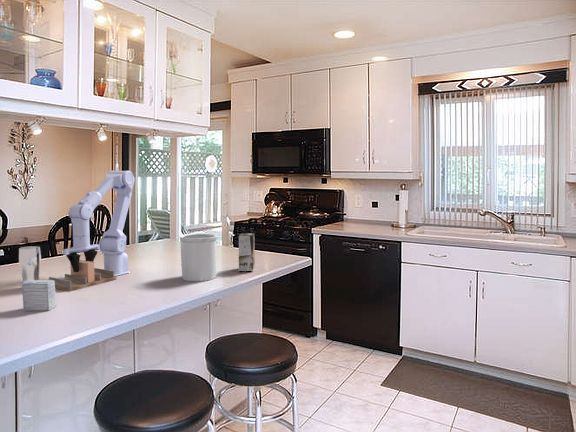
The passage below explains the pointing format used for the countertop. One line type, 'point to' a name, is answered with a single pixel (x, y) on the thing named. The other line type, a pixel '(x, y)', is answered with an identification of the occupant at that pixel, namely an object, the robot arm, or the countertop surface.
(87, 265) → the salmon pink box
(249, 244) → the coffee box
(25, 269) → the beer glass
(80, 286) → the dish rack
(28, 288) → the medicine box
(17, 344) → the countertop surface
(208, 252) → the utensil holder
